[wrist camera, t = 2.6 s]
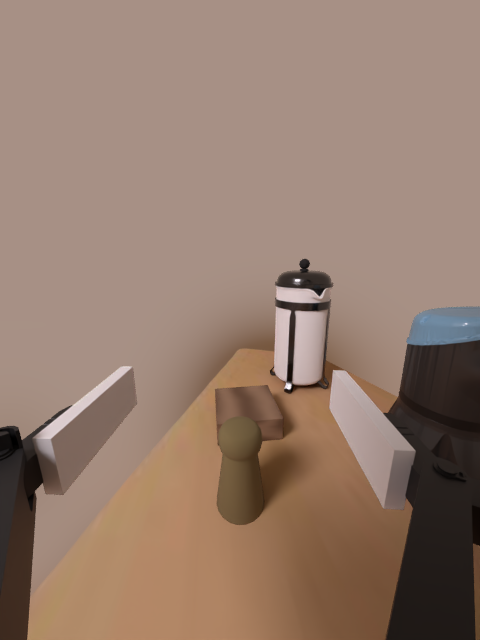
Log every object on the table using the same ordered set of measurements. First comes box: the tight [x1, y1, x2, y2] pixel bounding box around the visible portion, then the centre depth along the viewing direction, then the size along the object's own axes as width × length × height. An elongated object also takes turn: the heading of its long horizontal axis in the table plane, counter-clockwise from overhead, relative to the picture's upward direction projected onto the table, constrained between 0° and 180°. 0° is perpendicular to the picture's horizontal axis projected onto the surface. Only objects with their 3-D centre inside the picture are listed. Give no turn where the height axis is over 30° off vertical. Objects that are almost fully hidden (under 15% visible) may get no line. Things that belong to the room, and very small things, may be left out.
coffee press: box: [270, 259, 333, 394], centre depth 58 cm, size 17×16×30 cm
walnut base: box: [215, 385, 283, 445], centre depth 44 cm, size 11×11×4 cm
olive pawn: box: [217, 416, 264, 525], centre depth 29 cm, size 6×6×11 cm
